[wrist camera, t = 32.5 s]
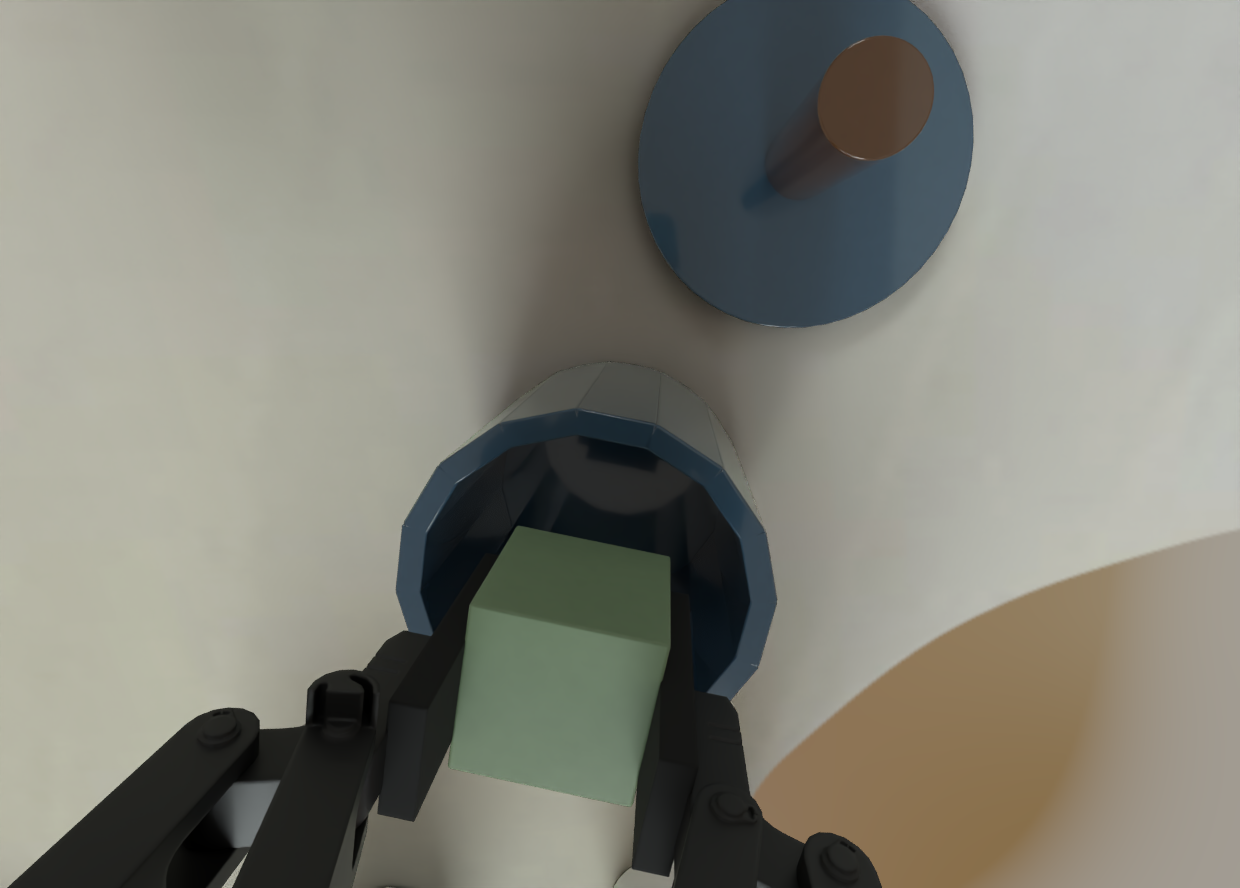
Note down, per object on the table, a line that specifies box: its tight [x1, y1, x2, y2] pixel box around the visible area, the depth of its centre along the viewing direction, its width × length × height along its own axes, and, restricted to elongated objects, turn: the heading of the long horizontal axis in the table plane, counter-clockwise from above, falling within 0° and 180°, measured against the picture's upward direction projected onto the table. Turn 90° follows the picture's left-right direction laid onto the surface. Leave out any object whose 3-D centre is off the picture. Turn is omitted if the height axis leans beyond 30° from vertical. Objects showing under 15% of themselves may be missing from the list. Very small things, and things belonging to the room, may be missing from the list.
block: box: [448, 526, 671, 807], centre depth 16 cm, size 4×4×4 cm
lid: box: [638, 0, 973, 328], centre depth 20 cm, size 13×13×10 cm
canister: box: [396, 361, 777, 701], centre depth 24 cm, size 12×12×10 cm
